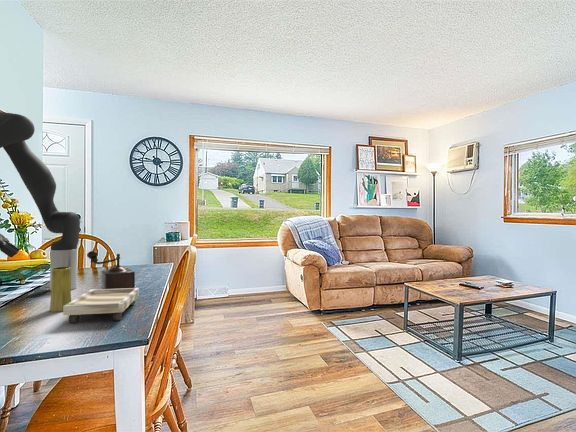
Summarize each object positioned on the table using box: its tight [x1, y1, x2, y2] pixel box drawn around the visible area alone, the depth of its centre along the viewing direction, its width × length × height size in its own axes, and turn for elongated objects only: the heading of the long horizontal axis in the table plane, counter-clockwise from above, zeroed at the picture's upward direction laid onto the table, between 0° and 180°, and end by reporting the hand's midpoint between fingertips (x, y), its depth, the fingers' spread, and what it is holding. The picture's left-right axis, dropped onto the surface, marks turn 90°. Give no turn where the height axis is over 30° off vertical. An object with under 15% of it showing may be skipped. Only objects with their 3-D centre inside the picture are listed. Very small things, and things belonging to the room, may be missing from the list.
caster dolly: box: [62, 287, 140, 324], centre depth 101 cm, size 20×16×6 cm
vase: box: [49, 267, 72, 313], centre depth 104 cm, size 6×6×14 cm
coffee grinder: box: [86, 250, 136, 289], centre depth 124 cm, size 16×11×18 cm
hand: (15, 253), depth 97 cm, fingers open, 8 cm apart
